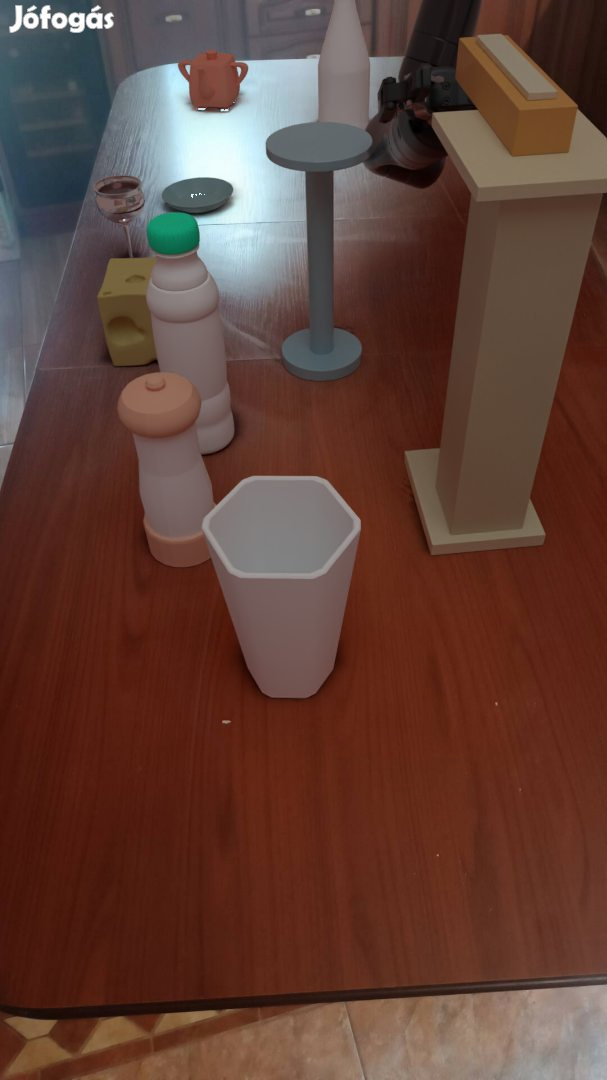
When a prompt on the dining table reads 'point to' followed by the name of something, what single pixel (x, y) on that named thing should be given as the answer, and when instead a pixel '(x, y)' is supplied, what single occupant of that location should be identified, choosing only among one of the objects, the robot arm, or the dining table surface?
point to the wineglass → (120, 201)
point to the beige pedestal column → (506, 331)
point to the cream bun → (515, 96)
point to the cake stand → (320, 242)
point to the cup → (285, 576)
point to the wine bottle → (344, 69)
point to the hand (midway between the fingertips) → (477, 73)
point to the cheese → (127, 311)
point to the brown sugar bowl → (213, 79)
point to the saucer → (182, 190)
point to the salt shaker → (169, 465)
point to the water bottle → (189, 323)
